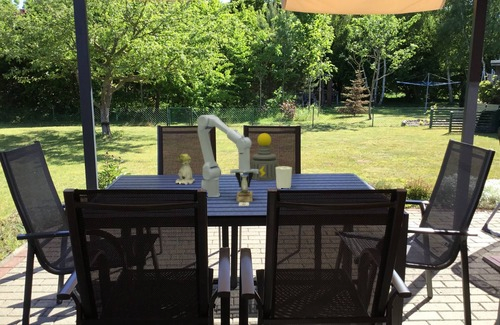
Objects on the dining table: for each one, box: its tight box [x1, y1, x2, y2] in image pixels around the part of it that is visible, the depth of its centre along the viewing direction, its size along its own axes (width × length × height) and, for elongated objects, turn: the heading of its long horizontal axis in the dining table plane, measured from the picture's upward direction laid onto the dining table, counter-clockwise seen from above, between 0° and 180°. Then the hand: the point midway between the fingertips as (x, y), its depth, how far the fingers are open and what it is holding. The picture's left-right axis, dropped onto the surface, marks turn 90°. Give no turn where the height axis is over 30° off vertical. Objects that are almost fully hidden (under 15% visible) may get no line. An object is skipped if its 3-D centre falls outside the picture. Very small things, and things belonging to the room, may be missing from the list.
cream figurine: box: [175, 153, 195, 185], centre depth 263 cm, size 12×13×18 cm
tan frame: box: [236, 190, 254, 203], centre depth 220 cm, size 8×14×2 cm, turn 179°
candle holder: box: [275, 166, 293, 190], centre depth 245 cm, size 10×10×12 cm
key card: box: [238, 202, 250, 207], centre depth 208 cm, size 5×6×1 cm
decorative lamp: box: [250, 132, 280, 182], centre depth 274 cm, size 19×19×30 cm
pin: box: [240, 175, 249, 193], centre depth 215 cm, size 4×4×8 cm
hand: (244, 187), depth 216 cm, fingers closed on pin, 4 cm apart
